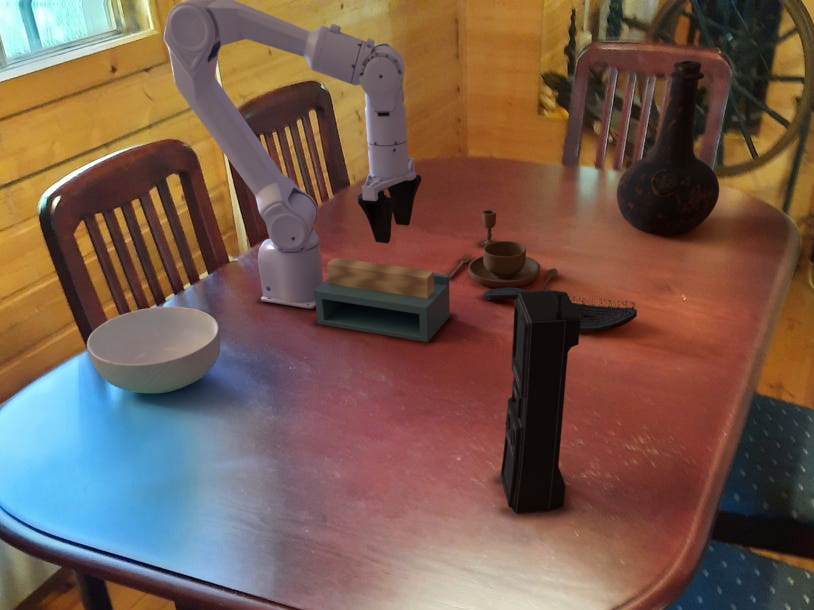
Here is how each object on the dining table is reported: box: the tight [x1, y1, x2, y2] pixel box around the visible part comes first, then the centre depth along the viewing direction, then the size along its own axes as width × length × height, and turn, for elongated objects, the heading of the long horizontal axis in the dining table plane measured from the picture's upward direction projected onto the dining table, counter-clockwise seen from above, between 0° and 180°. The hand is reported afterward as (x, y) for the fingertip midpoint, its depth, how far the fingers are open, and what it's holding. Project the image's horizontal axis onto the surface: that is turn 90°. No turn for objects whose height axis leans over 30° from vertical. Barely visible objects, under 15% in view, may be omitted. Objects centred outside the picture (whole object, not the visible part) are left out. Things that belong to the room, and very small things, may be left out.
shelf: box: [314, 272, 451, 343], centre depth 128 cm, size 18×9×7 cm, turn 68°
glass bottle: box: [616, 60, 720, 236], centre depth 150 cm, size 18×18×28 cm
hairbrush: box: [483, 287, 638, 334], centre depth 129 cm, size 8×4×25 cm
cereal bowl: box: [86, 306, 222, 394], centre depth 115 cm, size 17×17×7 cm
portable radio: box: [500, 289, 581, 514], centre depth 88 cm, size 8×6×25 cm
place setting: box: [449, 209, 559, 291], centre depth 143 cm, size 18×20×6 cm
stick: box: [326, 257, 435, 299], centre depth 125 cm, size 16×3×3 cm, turn 68°
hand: (392, 233), depth 131 cm, fingers open, 7 cm apart
